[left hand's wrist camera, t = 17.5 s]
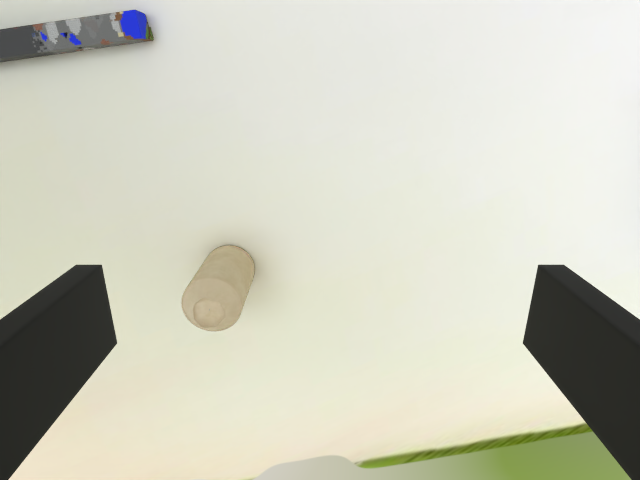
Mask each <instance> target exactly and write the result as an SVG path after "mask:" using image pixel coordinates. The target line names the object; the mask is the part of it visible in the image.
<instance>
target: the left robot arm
mask: <svg viewBox="0 0 640 480" xmlns="http://www.w3.org/2000/svg"><path fill="white" fill-rule="evenodd" d="M116 344H117V340H116V335H115V330H114V325H113V320H112V315H111V310H110V305H109V300H108V294H107V289H106V284H105V279H104V274H103V269H102V265H75V266H74V267H73V268H71V269H70V270H68V271H67V272H66V273H64V274H63V275H61V276H60V277H59V278H57V279H56V280H55V281H53V282H52V283H50V284H49V285H48V286H46V287H45V288H43V289H42V290H41V291H39V292H38V293H37V294H35V295H34V296H32V297H31V298H30V299H28V300H27V301H25V302H24V303H23V304H21V305H20V306H19V307H17V308H16V309H14V310H13V311H12V312H10V313H9V314H8V315H6V316H5V317H3V318H2V319H1V320H0V480H8V479H9V478H10V477H11V476H12V474H13V473H14V472H15V471H16V469H17V468H18V467H19V466H20V464H21V463H22V462H23V461H24V459H25V458H26V457H27V456H28V454H29V453H30V452H31V451H32V449H33V448H34V447H35V446H36V444H37V443H38V442H39V441H40V439H41V438H42V437H43V435H44V434H45V433H46V432H47V430H48V429H49V428H50V427H51V425H52V424H53V423H54V422H55V420H56V419H57V418H58V417H59V415H60V414H61V413H62V412H63V410H64V409H65V408H66V407H67V405H68V404H69V403H70V402H71V400H72V399H73V398H74V397H75V395H76V394H77V393H78V392H79V390H80V389H81V388H82V387H83V385H84V384H85V383H86V382H87V380H88V379H89V378H90V377H91V375H92V374H93V373H94V372H95V370H96V369H97V368H98V367H99V365H100V364H101V363H102V361H103V360H104V359H105V358H106V356H107V355H108V354H109V353H110V351H111V350H112V349H113V348H114V346H115V345H116ZM523 344H524V345H525V346H526V348H527V349H528V350H529V351H530V353H531V354H532V355H533V356H534V358H535V359H536V360H537V361H538V363H539V364H540V365H541V367H542V368H543V369H544V370H545V372H546V373H547V374H548V375H549V377H550V378H551V379H552V380H553V382H554V383H555V384H556V385H557V387H558V388H559V389H560V390H561V392H562V393H563V394H564V395H565V397H566V398H567V399H568V400H569V402H570V403H571V404H572V405H573V407H574V408H575V409H576V410H577V412H578V413H579V414H580V415H581V417H582V418H583V419H584V420H585V422H586V423H587V424H588V425H589V427H590V428H591V429H592V430H593V432H594V433H595V434H596V435H597V437H598V438H599V439H600V440H601V442H602V443H603V444H604V445H605V447H606V448H607V449H608V451H609V452H610V453H611V454H612V456H613V457H614V458H615V459H616V460H617V462H618V463H619V464H620V466H621V467H622V468H623V469H624V471H625V472H626V473H627V474H628V476H629V477H630V478H631V479H632V480H640V320H639V319H638V318H637V317H635V316H634V315H632V314H631V313H630V312H628V311H627V310H626V309H624V308H623V307H621V306H620V305H619V304H617V303H616V302H615V301H613V300H612V299H610V298H609V297H608V296H606V295H605V294H603V293H602V292H601V291H599V290H598V289H597V288H595V287H594V286H592V285H591V284H590V283H588V282H587V281H585V280H584V279H583V278H581V277H580V276H579V275H577V274H576V273H574V272H573V271H572V270H570V269H569V268H567V267H566V266H565V265H538V269H537V274H536V279H535V284H534V289H533V294H532V300H531V305H530V310H529V315H528V320H527V325H526V330H525V335H524V340H523Z"/></svg>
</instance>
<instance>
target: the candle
mask: <svg viewBox="0 0 640 480" xmlns="http://www.w3.org/2000/svg"><path fill="white" fill-rule="evenodd" d="M254 272H255V269H254V263H253V260H252V258H251V257H250V255H249V254H248V253H247V252H246V251H244V250H243V249H241V248H239V247H236V246H231V245H227V246H221V247H218V248H216V249H215V250H213V251H212V252H211V253H210V254H209V255H208V257H207V258H206V260H205V261H204V263H203V264H202V266H201V267H200V269H199V270H198V271H197V273H196V274H195V276H194V277H193V279H192V280H191V282H190V283H189V285H188V286H187V288H186V289H185V291H184V293H183V296H182V309H183V312H184V314H185V316H186V317H187V319H188V320H189V321H190V322H191V323H192V324H194V325H195V326H197V327H199V328H201V329H204V330H207V331H221V330H225V329H227V328H229V327H231V326H232V325H233V324H235V323H236V321H237V320H238V318H239V317H240V314H241V311H242V309H243V306H244V303H245V300H246V297H247V294H248V292H249V289H250V286H251V283H252V280H253V277H254Z"/></svg>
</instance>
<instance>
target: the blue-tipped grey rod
mask: <svg viewBox="0 0 640 480" xmlns="http://www.w3.org/2000/svg"><path fill="white" fill-rule="evenodd" d="M151 40H153V36H152V32H151V28H150V27H148V23H147V20H146V16H145V14H144V13H141V12H139V11H137V10H130V11H123V12H116V13H109V14H103V15H96V16H89V17H82V18H75V19H69V20H62V21H55V22H48V23H41V24H35V25H28V26H21V27H14V28H7V29H1V30H0V62H4V61H11V60H18V59H25V58H32V57H39V56H46V55H53V54H60V53H67V52H74V51H81V50H88V49H95V48H102V47H109V46H116V45H123V44H130V43H137V42H144V41H151Z"/></svg>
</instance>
